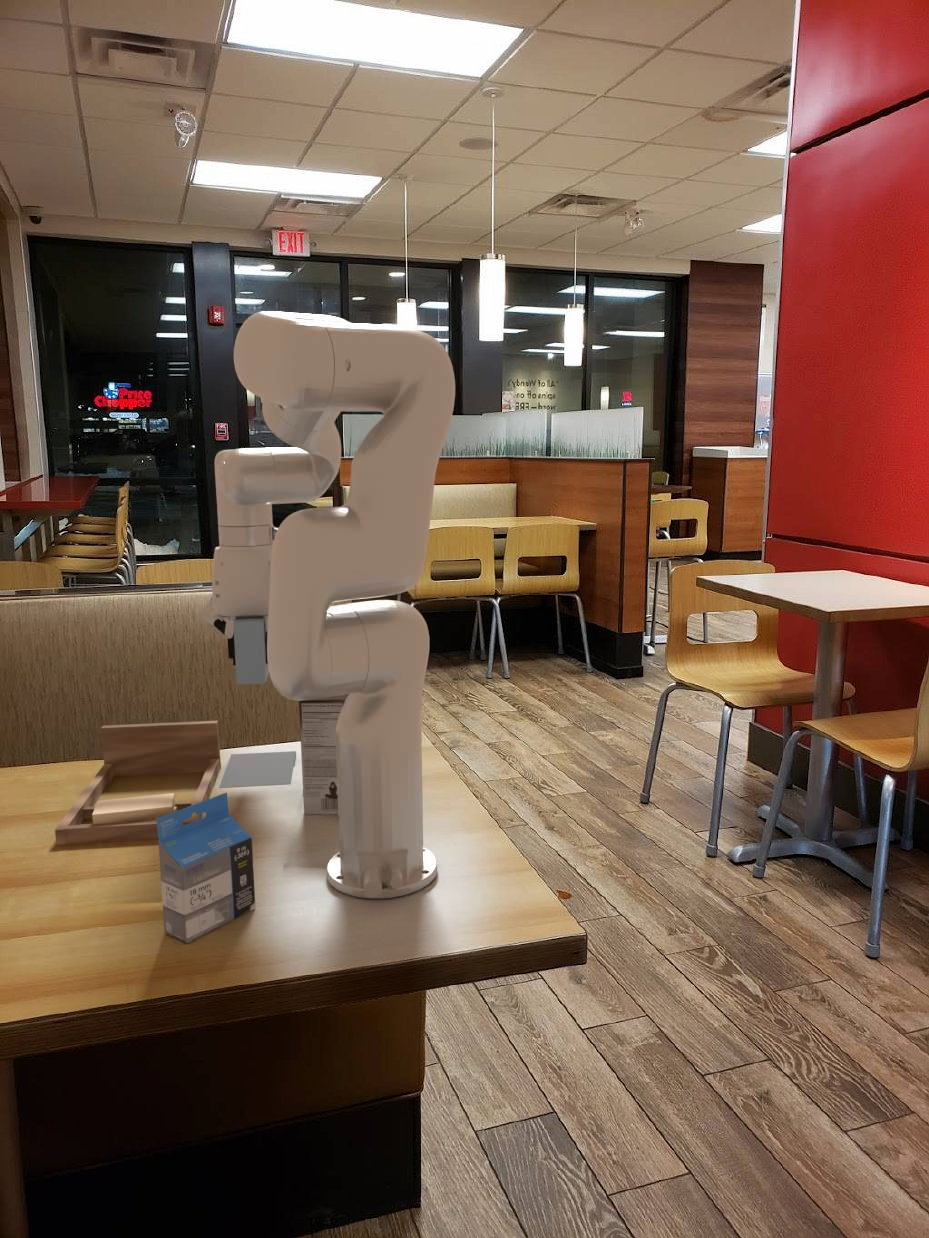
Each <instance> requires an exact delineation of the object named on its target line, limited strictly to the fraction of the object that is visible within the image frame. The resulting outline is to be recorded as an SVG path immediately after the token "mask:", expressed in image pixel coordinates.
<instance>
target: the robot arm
mask: <svg viewBox="0 0 929 1238" xmlns="http://www.w3.org/2000/svg"><path fill="white" fill-rule="evenodd" d="M233 363H234V369H235V373H236V375H237V378H238V380H239V382H240V383H241V385H242V386H243V388H245V389H246V390H247V391H248V392H250V393H251V394H252V395H254V396H256V397H259V398H261V399H263V400H262V407H261V410H262V416H263V419H264V422H265V424H266V426H267V428H268V429H270V431H271V432H272V433H273V435H275V436H276V437H277V438H278V439H280V440H281V441H282V442H284V443H286V444H288V445H290V446H289V447H288V446H286V447H285V446H284V447H282V446H280V447H279V446H276V447H273V446H272V447H271V446H270V447H245V448H244V447H241V448H235V449H223V450H220V451H218V452H217V453H216V454H215V458H214V477H215V478H214V479H215V490H216V491H215V493H216V494H215V495H216V505H217V506H216V508H217V509H216V511H217V525H218V526H217V527H218V528H217V529H218V541H219V543H218V544H219V546H216V547H215V548H214V552H213V553H214V554H213V560H212V561H213V563H212V582H211V583H212V590H211V591H212V594H211V598H209V601H208V602H207V604H206V605H205V607H204V609H203V611H202V612H201V614H200V618H201V620H203V621H204V622H206V623H208V624H210V625H212V626H213V627H214V628H216V629H217V630H218V631H220V633H222V634H223V635H224V637H225V638H226V640H227V651H228V653H227V654H228V659H229V660H230V659H231V660H232V663H233V664H232V665H233V666H236V661H235V644H234V627H233V622H234V620H235V619H236V617H264V620H265V624H266V628H267V632H266V637H265V651H266V663H267V664H268V668H269V677H270V679H271V683H272V684H273V687H274V688H275V690H276V691H277V692H278V693H279V694H280V695H281V696H282V697H284V698H287V699H288V700H292V701H296V702H297V701H298V702H299V701H305V700H314V699H320V698H326V697H332V696H338V695H344V694H349V695H348V697H347V699H346V701H345V703H344V705H343V707H342V709H341V712H340V714H339V717H338V721H337V726H336V762H337V790H338V814H337V815H338V817H337V818H338V841H339V843H338V844H339V851H338V852H337V853H335V854H334V855H333V856H332V857H331V858H330V859H329V860H328V862H327V865H326V878H327V881H328V882H329V884H330V886H332V887H334V889H335V890H337V891H339V892H341V893H344V894H345V895H349V896H352V897H357V898H364V899H391V898H396V897H398V898H399V897H403V896H405V895H409V894H413V893H414V892H417V891H419V890H421V889H423V888H425V887H427V886H428V885H429V884H430V883H431V882H432V881H433V880H435V878H436V876H437V875H438V874H437V872H438V860H437V858H436V855H434V853H433V852H432V851H430V850H429V849H427V848H425V847H424V811H423V809H424V807H423V760H422V759H423V752H422V751H423V749H422V748H423V747H422V742H423V737H422V736H423V735H422V731H423V730H422V725H423V724H422V722H423V721H422V710H423V696H424V695H423V694H424V693H423V692H424V684H425V678H426V673H427V667H428V662H429V657H430V656H429V654H430V634H429V633H430V632H429V629H428V624H427V622H426V620H425V618H424V617H423V615H422V613H420V611H419V610H418V609H416V607H414V606H412V605H411V604H408V603H407V602H403V601H400V600H393V599H392V600H391V599H377V600H375V599H374V600H368V601H367V600H366V601H357V602H347V603H342V604H336V605H332V604H334V603H336V602H337V603H338V602H339V603H340V602H344V601H345V602H346V601H352V600H353V601H354V600H361V599H371V598H372V599H373V598H380V597H381V598H382V597H387V596H395V595H399V594H403V593H405V592H408V591H410V590H412V589H413V588H415V587H416V586H417V585H418V583H419V582H420V580H421V577H422V575H423V573H424V568H425V563H426V558H427V557H426V556H427V551H428V542H429V534H430V525H431V517H432V510H433V509H432V507H433V499H434V491H435V478H436V474H437V467H438V464H439V460H440V457H441V453H442V450H443V446H444V444H445V441H446V438H447V436H448V432H449V428H450V425H451V422H452V417H453V412H454V407H455V398H456V379H455V373H454V369H453V368H454V367H453V364H452V361H451V358H450V356H449V354H448V351H446V348H445V347H444V346H443V344H442V343H441V342H440V341H439V340H438V339H436V338H435V337H434V336H432V335H430V334H429V333H426V332H424V331H422V330H419V329H418V330H417V329H413V328H410V327H409V328H408V327H404V326H397V325H388V324H377V323H376V324H375V323H374V324H373V323H353V322H350V321H349V320H346V319H344V318H341V317H337V316H332V315H328V314H317V313H316V314H315V313H313V314H312V313H302V312H301V313H299V312H288V311H287V312H285V311H274V310H272V311H271V310H270V311H269V310H267V311H265V310H262V311H258V312H255V313H252V314H251V315H250V316H248V318H247V319H245V320H244V321H243V323H242V325H241V326H240V328H239V330H238V332H237V335H236V338H235V342H234V347H233ZM341 412H354V413H355V412H356V413H357V412H381V413H382V414H383V416H382V418H381V419H379V420H378V421H377V423H375V424H374V426H373V427H371V429H370V430H369V432H368V433H367V434H366V435H365V437H364V439H363V440H362V442H360V444H359V445H358V447H357V449H356V452H355V454H354V456H353V458H352V461H351V466H350V478H349V488H348V489H349V492H348V496H347V499H346V502H345V503H344V504H343V505H341V506H329V507H314V508H304V509H300V510H297V511H295V512H293V513H291V514H289V515H288V516H286V517H285V518H284V520H282V522H281V523H280V525H279V526H278V527H276V526H274V523H273V506H272V505H281V504H301V503H310V502H313V501H316V500H317V499H320V498H321V497H322V496H323V495H324V494H325V493H326V492H327V490H328V489H329V488H330V486H331V485H332V483H333V482H334V480H335V479H336V477H337V475H338V473H339V470H340V466H341V460H342V443H341V437H340V433H339V431H338V428H337V426H336V424H335V422H336V419H337V418H338V417H339V415H340V414H341ZM223 618H226V621H225V620H224V619H223Z"/></svg>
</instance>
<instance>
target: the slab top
mask: <svg viewBox="0 0 929 1238" xmlns="http://www.w3.org/2000/svg"><path fill="white" fill-rule="evenodd" d="M175 800H176V799H175V792H172V793H171V792H170V793H162V794H151V795H142V796H134V797H133V796H131V797H123V798H121V797H120V798H111V799H101V800H97V801H96V803H95V809H94V812H93V814H92V817H93V819H92V824H104V823H122V822H138V821H148V820H156V819H157V818H160V817H162V816H165V815H168V814H170V813H173V812H174V808H175V802H176V801H175Z"/></svg>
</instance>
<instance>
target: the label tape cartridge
mask: <svg viewBox="0 0 929 1238" xmlns="http://www.w3.org/2000/svg"><path fill="white" fill-rule="evenodd" d="M228 799H229V798H228V792H224V793H222V794H219V795H217V796H214V797H212V798H211V797H210V798H209V799H208V800H205V801H203V802H200V803H197V804H195V805H192V806H189V807H187V808H184V809H181V810H178V811H176V812H173V813H170V814H168V815H165V816H162V817H160V818H157V819H156V821H157V829H158V837H159V838H158V854H159V870H160V871H159V872H160V873H159V874H160V886H161V902H162V914H163V915H162V918H163V931H164V933H165V934H166V935H168V936H170V937H172V938H175V939H176V940H179V941H181V942H182V943H185V944H189V943H191V942H192V941H194V940H197V939H198V938H200V937H202V936H204V935H206V934H208V933H210V932H212V931H213V930H216V929H217V928H219V927H222V926H224V925H226V924H227V923H229V922H231V921H233V920H235V919H237V918H239V917H240V916H243V915H245V914H247V913H249V912H251V911H253V910H255V909H256V893H255V878H254V877H255V876H254V858H253V856H254V855H253V853H254V851H253V838H252V836H251V835H250V834H249V832H248V831H246V830H245V829H244V828H243V827H242V826H241V825H240V824H239V823H238V822H237V820H235V819H234V818H233V816H231V814H230V813H229V811H230V810H229V801H228ZM193 813H197V814H201V813H205V816H203V817H202V819H200V820H197V821H195V822H192V823H189V824H187V825H183V821H184V820H186V819H188V818H190V817H191V816H192V814H193Z"/></svg>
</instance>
